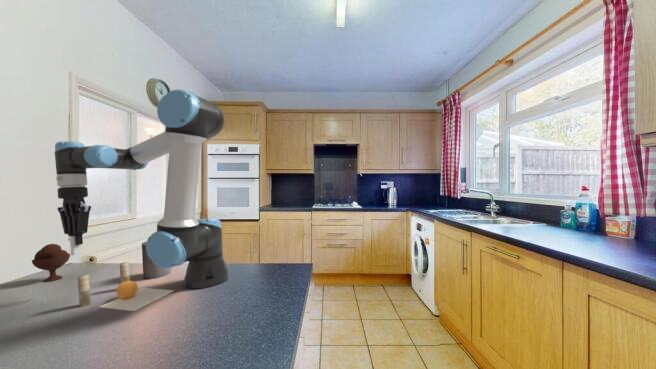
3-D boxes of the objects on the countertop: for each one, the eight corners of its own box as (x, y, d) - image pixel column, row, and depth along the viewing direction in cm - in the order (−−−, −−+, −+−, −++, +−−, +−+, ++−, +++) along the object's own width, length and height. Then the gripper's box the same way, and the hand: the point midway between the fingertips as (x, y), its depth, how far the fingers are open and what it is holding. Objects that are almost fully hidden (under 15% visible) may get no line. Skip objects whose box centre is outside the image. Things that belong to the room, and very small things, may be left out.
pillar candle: (139, 276, 107) (136, 239, 106) (165, 269, 115) (163, 235, 114) (149, 280, 101) (147, 242, 101) (176, 272, 109) (173, 237, 109)
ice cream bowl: (78, 274, 114) (76, 240, 114) (49, 284, 103) (46, 246, 103) (56, 275, 115) (54, 240, 115) (25, 285, 104) (22, 247, 104)
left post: (92, 303, 83) (91, 274, 83) (83, 306, 81) (81, 277, 80) (87, 302, 84) (85, 274, 84) (77, 306, 81) (75, 277, 81)
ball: (126, 283, 89) (135, 297, 88) (109, 290, 84) (117, 305, 83) (135, 274, 88) (144, 288, 87) (118, 281, 83) (127, 295, 82)
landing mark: (174, 291, 89) (174, 290, 89) (133, 311, 76) (133, 310, 76) (142, 288, 93) (142, 288, 93) (98, 307, 80) (98, 306, 80)
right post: (132, 287, 95) (130, 262, 95) (124, 289, 93) (123, 264, 93) (126, 286, 96) (125, 262, 96) (119, 289, 93) (117, 264, 93)
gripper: (46, 188, 90) (50, 256, 90) (72, 186, 86) (77, 257, 86) (72, 187, 97) (77, 250, 97) (98, 185, 93) (102, 251, 93)
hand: (77, 254), depth 92 cm, fingers closed
